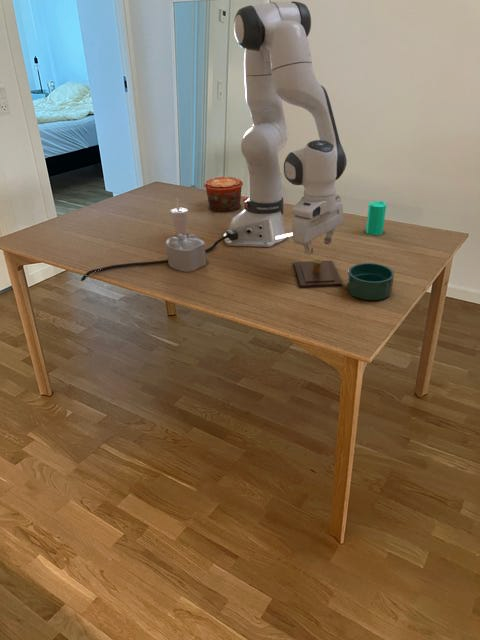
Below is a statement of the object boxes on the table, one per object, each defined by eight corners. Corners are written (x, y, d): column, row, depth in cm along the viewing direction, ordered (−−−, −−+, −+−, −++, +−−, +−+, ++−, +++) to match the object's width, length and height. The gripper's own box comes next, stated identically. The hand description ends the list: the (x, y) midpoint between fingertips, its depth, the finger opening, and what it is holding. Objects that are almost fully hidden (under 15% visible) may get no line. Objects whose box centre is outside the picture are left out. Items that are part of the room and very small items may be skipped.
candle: (381, 229, 180) (385, 196, 174) (384, 235, 175) (388, 202, 169) (364, 229, 180) (368, 196, 174) (366, 235, 175) (370, 202, 169)
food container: (213, 216, 198) (212, 189, 193) (200, 204, 211) (198, 179, 205) (249, 209, 204) (249, 183, 198) (234, 198, 216) (233, 174, 211)
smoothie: (169, 237, 180) (165, 200, 173) (178, 231, 185) (174, 194, 178) (185, 239, 178) (181, 201, 171) (193, 233, 183) (189, 196, 176)
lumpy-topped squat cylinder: (186, 273, 154) (184, 247, 150) (160, 262, 162) (156, 238, 157) (210, 262, 161) (208, 237, 156) (183, 252, 168) (181, 228, 164)
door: (300, 287, 143) (300, 274, 141) (293, 264, 157) (294, 251, 155) (341, 286, 143) (342, 272, 141) (331, 262, 157) (332, 250, 155)
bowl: (352, 302, 135) (354, 283, 132) (343, 282, 145) (344, 264, 142) (396, 300, 135) (399, 281, 132) (384, 280, 145) (386, 262, 142)
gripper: (331, 191, 146) (330, 235, 153) (288, 210, 134) (288, 257, 141) (349, 194, 142) (347, 239, 150) (306, 214, 130) (306, 262, 137)
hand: (318, 248), depth 145 cm, fingers open, 8 cm apart
